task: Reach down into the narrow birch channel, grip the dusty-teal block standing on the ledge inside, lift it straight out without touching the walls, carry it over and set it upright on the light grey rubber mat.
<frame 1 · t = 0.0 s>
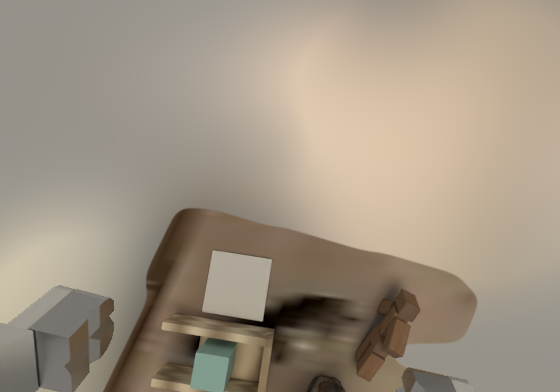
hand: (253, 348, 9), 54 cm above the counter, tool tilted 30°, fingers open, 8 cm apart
figurine: (376, 326, 61), on the counter
mat: (237, 284, 63), on the counter
channel: (220, 349, 61), on the counter
block: (221, 353, 59), point 2 cm above the counter, touching channel
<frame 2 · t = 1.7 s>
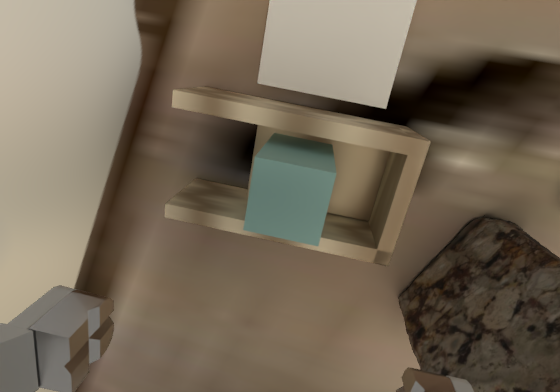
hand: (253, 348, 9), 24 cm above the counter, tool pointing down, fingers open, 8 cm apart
mat: (336, 25, 28), on the counter
channel: (293, 160, 32), on the counter
block: (297, 166, 30), point 2 cm above the counter, touching channel
stone block: (456, 266, 34), on the counter
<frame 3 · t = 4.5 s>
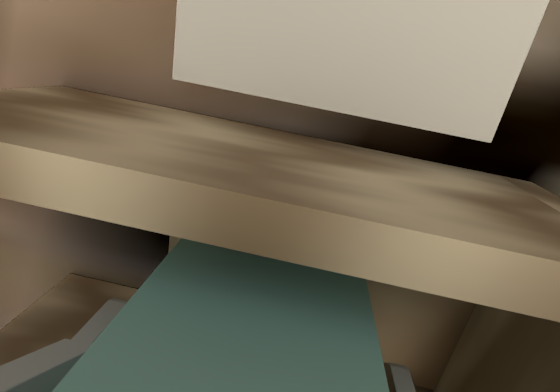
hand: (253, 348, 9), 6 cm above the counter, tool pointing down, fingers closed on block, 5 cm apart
channel: (267, 246, 15), on the counter
block: (271, 274, 13), point 2 cm above the counter, touching channel, gripper
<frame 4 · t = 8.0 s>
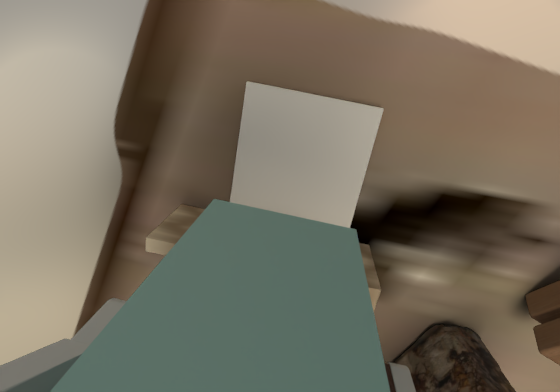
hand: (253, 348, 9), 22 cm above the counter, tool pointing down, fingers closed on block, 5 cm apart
mat: (301, 159, 30), on the counter
channel: (265, 268, 34), on the counter
block: (272, 274, 13), point 18 cm above the counter, touching gripper
stone block: (419, 362, 36), on the counter
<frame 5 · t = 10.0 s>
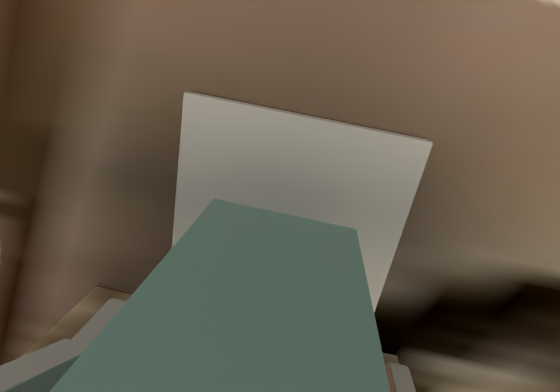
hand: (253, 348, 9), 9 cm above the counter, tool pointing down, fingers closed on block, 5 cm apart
mat: (284, 222, 17), on the counter
channel: (232, 382, 22), on the counter
block: (272, 274, 13), point 5 cm above the counter, touching gripper
when the fingers open (6 cm above the counter, at t = 11.5 s): block drops 1 cm, resting on mat.
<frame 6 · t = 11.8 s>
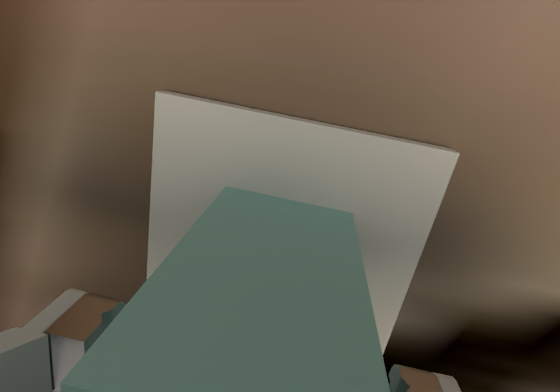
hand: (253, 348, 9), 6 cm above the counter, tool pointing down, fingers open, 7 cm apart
mat: (279, 245, 15), on the counter
block: (277, 254, 14), point 1 cm above the counter, touching mat
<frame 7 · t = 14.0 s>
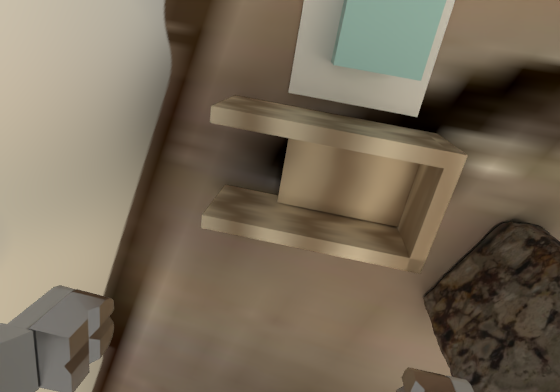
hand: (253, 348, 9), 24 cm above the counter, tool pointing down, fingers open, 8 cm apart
mat: (368, 34, 27), on the counter
channel: (322, 166, 32), on the counter
block: (369, 33, 27), point 1 cm above the counter, touching mat
stone block: (481, 267, 34), on the counter
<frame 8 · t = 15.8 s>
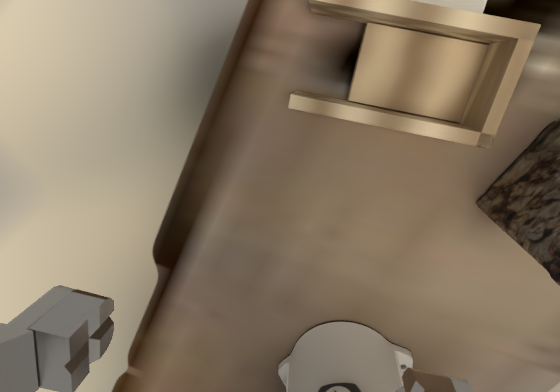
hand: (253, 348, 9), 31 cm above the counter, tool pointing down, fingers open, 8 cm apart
channel: (389, 69, 35), on the counter
stone block: (531, 171, 37), on the counter
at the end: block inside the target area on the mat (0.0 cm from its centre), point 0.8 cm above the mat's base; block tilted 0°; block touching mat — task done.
